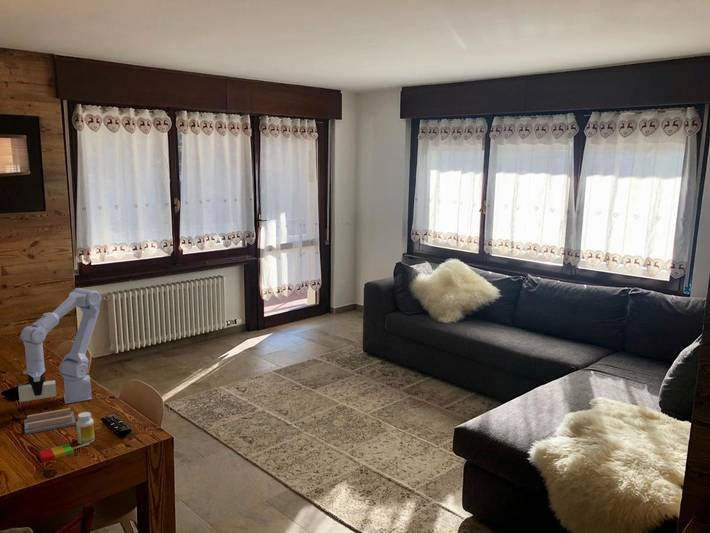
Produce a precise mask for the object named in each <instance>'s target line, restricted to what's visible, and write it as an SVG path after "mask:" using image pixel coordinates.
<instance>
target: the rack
mask: <svg viewBox="0 0 710 533" xmlns="http://www.w3.org/2000/svg"><path fill="white" fill-rule="evenodd" d="M26 418H27V419H24V420H23V423H24V435H28V434H33V433H39V432H46V431H50V430H56V429H61V428H65V427H71V426H76V423H77V421H76V418H75V414H74V411H73V410H71V408H70V407H68V408H64V409H63V408H62V409H57V410H51V411H46V412H45V411H44V412H40V413H34V414H29V415H27V416H26Z"/></svg>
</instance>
